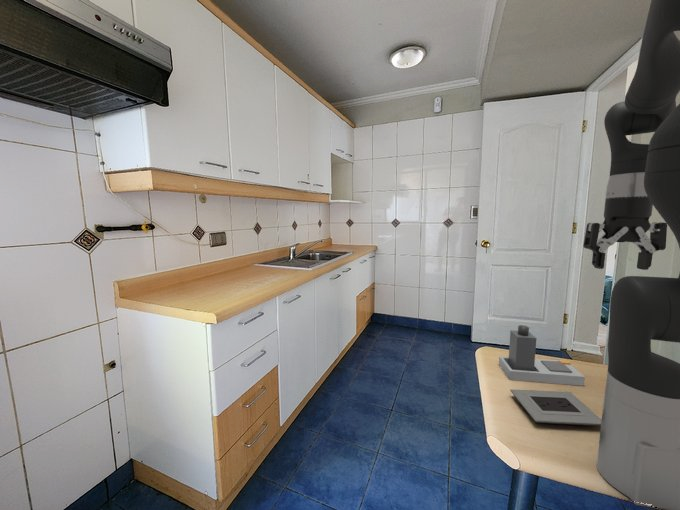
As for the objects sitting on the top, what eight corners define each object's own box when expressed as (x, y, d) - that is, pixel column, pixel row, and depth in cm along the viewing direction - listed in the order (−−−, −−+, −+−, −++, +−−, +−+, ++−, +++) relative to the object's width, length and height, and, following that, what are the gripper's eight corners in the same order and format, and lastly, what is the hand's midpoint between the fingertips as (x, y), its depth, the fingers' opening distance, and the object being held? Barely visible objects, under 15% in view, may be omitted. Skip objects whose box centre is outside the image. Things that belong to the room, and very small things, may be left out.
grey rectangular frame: (584, 385, 72) (585, 375, 71) (509, 379, 75) (510, 369, 75) (565, 369, 80) (566, 359, 79) (498, 364, 83) (499, 354, 82)
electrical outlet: (569, 400, 67) (570, 390, 67) (606, 433, 57) (607, 422, 56) (510, 397, 68) (510, 388, 68) (535, 430, 58) (535, 419, 58)
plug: (533, 378, 76) (537, 330, 74) (514, 376, 76) (517, 329, 75) (525, 369, 80) (529, 324, 78) (507, 367, 81) (511, 323, 79)
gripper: (603, 195, 61) (595, 271, 63) (684, 193, 58) (673, 272, 60) (581, 197, 68) (574, 265, 70) (652, 196, 65) (643, 266, 68)
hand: (620, 268), depth 65 cm, fingers open, 8 cm apart
